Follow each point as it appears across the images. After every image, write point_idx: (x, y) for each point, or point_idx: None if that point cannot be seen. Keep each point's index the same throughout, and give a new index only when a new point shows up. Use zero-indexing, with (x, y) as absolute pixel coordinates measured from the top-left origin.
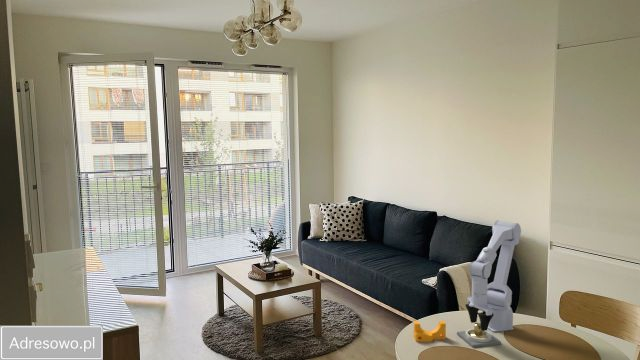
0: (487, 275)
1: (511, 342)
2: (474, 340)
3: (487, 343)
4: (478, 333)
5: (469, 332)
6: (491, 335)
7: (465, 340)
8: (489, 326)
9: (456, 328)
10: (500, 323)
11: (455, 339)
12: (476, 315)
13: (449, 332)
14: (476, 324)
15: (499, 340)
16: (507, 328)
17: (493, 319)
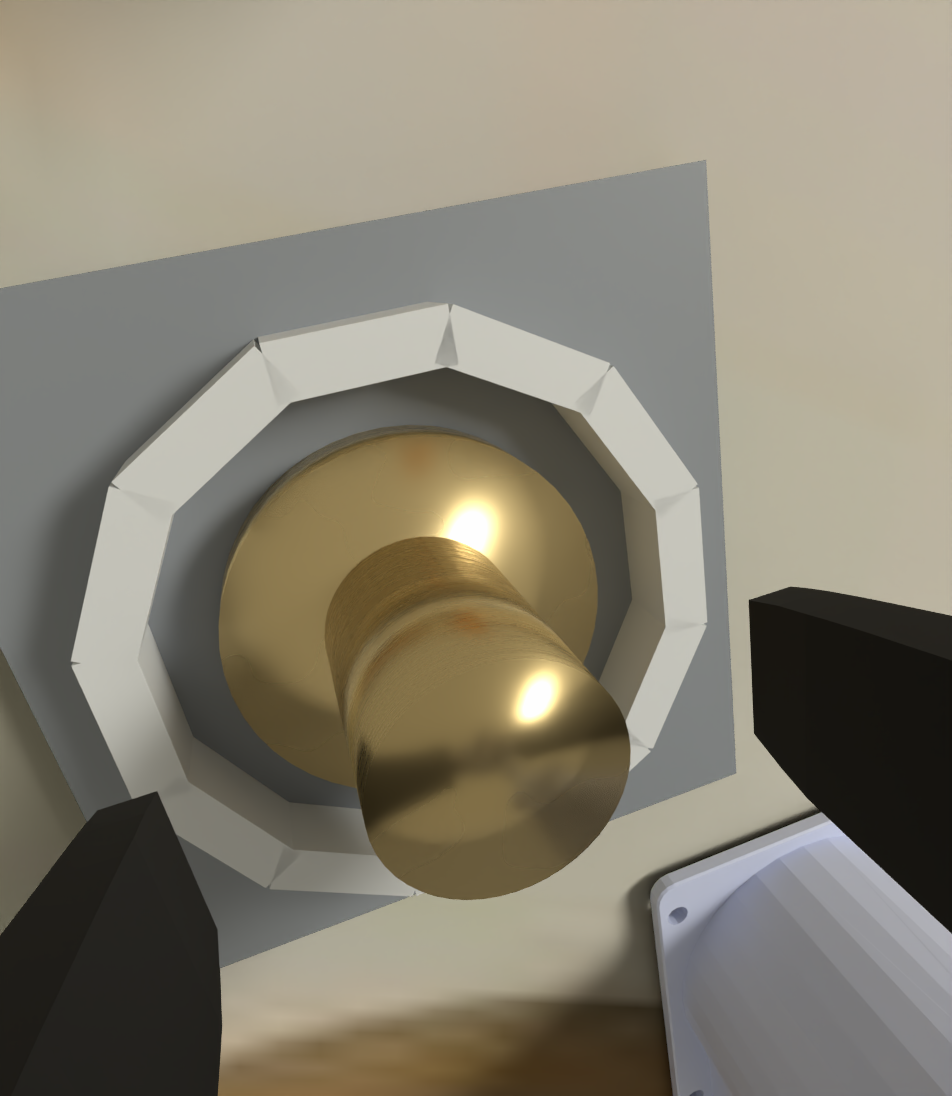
0: None
1: (263, 1082)
2: (129, 455)
3: (46, 730)
4: (333, 642)
5: (602, 461)
6: (328, 890)
7: (259, 241)
8: (796, 866)
9: (915, 276)
10: (746, 1090)
11: (400, 2)
12: (942, 893)
13: (788, 14)
14: (503, 726)
15: (227, 963)
16: (703, 1068)
17: (850, 1054)
